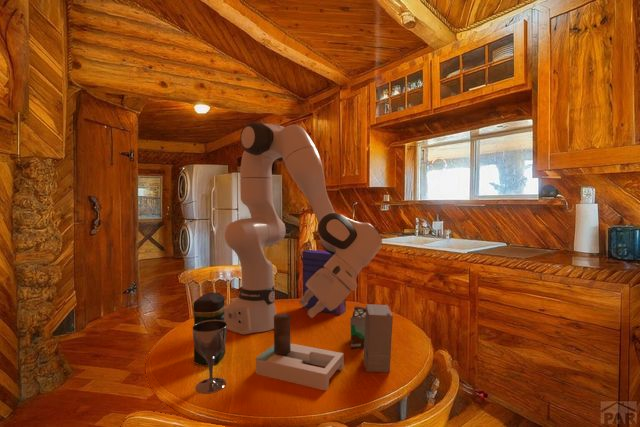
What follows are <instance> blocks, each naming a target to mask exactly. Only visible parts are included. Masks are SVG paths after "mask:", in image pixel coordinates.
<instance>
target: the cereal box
mask: <svg viewBox="0 0 640 427" xmlns="http://www.w3.org/2000/svg"><path fill="white" fill-rule="evenodd" d="M301 252H302V297H303V296H304V294H305V292H306V291H307V290H308V288H307V286H306V283H307V281H308V280H309V279H310V278H311V277H312V276H313V275H314V274H315V273H316V272H317V271H318V270H319V269H321V268H324V265H325V264H326V263H327V262H328V260H329V259H330V258H331V257H332V256H333V254H330V253H328V252H327V251H325V250H316V249H305V250H303V251H301ZM346 300H347V297H346V298H345V299H344V301H343V302H342V303H341V304H340V305H339V306H338V307H337V308H336V309H334V310H332V311H330V310H328V309H327V308H326V307H325V308H324V309H323V310H322V311H320V312H323V313H327V314H332V315H339V316H341V315H343V314H345V313H346V311H347V309H346V308H347V306H346V304H347V303H346V302H347V301H346ZM318 301H319V300H318V298H317V297H316V296H315V295H314V296H313V297H311V298H310V299H309V301H308V304H307V305H306V306H305V307H303V306H302V309H306V310H309V309H310V308H313V307H314V306H315V305H316V303H317V302H318Z"/></svg>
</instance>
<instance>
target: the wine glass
mask: <svg viewBox="0 0 640 427" xmlns="http://www.w3.org/2000/svg"><path fill="white" fill-rule="evenodd" d="M227 331H228V330H227V324H226V322H225V321H222V320H207V321H202V322H199V323H197V324H195V325H194V324H193V326H192V341H193V346H194V345H195V348H196V351H197V352H198V353H199V354H200V355H201V356H202V357H203V358H204V359H205V360H206V361H207V363H208V365H207V367H208V376H209V378H205V379H202V380H201V381H199V382H198V383H197V384H196V385H195V386H196V387H195V390H196V392H197V393H200V394H203V395H204V394H206V393H207V394H213V393H217V392H219V390H220V391H222V390H223V389H224V388H225V387H226V385H227V381H226V379H224V378H222V377H214V376H213V374H214V373H213V372H214V371H213V370H214V361H215V359H216V357H217V356H218V354H219V353H220V352H221V351H222V349H223V348H224V345H225V346H226V340H227V334H228V333H227Z"/></svg>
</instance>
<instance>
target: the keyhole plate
mask: <svg viewBox="0 0 640 427" xmlns="http://www.w3.org/2000/svg"><path fill="white" fill-rule="evenodd" d="M290 346H291V351H290V352H289V353H288V354H287V357H285V356H280V355H278V354H276V353H275V352H274V344H272V345H271V346H270V347H269V348H267V349H266V350H265V351H263V352H262V353H260V354H259V355H258V356H256V358H255V374H256V375H259V376H264V377H267V378H271V379H276V380H280V381H284V382H288V383H293V384H297V385H301V386H305V387H309V388H314V389H318V390H321V391H325V392H327V391H328V390H329V388H330V387H329V386H330V378H332V376H333V375H334V374H335V373H336V371H337V370H339V371H343V370H344V368H345V367H344V366H345V360H344V359H345V357H344V356H345V355H344V353H343V352H339V351H338V352H337V351H335V350H334V351H333V350H328V349H321V348H318V347H312V346H306V345H302V344H301V345H300V344H296V343H291V342H290ZM310 364H311V365H310Z"/></svg>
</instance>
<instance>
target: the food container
mask: <svg viewBox="0 0 640 427" xmlns="http://www.w3.org/2000/svg"><path fill="white" fill-rule="evenodd" d="M365 319H366V307H364V306H359V305H358V306H357V305H354V310H353V312H352V317H350V323H349V324H350V349H351V350H361V349H364V337H365Z"/></svg>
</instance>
